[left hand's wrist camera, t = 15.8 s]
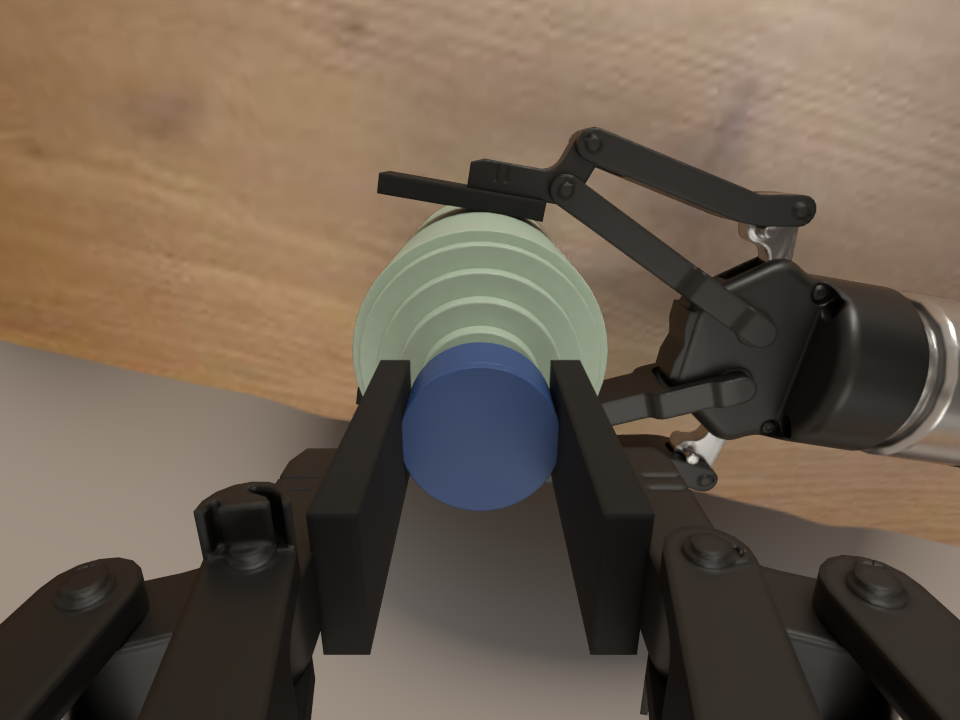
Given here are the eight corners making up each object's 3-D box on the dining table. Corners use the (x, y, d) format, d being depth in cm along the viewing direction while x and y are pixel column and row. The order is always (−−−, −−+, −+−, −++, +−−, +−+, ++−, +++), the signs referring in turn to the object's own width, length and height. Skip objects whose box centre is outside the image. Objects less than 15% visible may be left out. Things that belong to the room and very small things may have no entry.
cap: (575, 434, 15) (587, 470, 13) (453, 493, 15) (449, 534, 14) (510, 315, 14) (514, 337, 12) (380, 383, 14) (367, 413, 13)
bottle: (423, 359, 32) (358, 593, 15) (388, 214, 29) (258, 298, 12) (565, 333, 32) (667, 545, 14) (543, 183, 29) (637, 224, 12)
